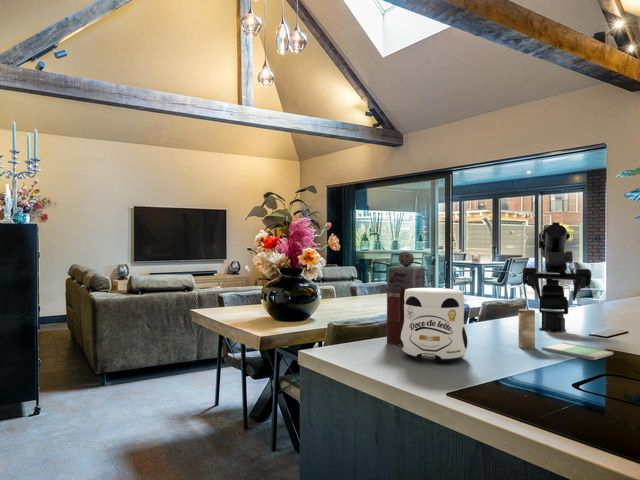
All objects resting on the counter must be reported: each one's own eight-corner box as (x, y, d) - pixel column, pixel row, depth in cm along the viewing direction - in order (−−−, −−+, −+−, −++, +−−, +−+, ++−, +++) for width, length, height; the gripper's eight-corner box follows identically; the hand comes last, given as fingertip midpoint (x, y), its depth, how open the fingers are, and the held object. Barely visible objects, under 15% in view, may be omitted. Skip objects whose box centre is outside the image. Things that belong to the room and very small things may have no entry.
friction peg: (515, 347, 135) (515, 309, 135) (524, 345, 137) (524, 308, 137) (529, 350, 131) (529, 311, 131) (538, 348, 134) (538, 310, 134)
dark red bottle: (383, 344, 137) (383, 251, 138) (398, 338, 147) (398, 251, 147) (410, 348, 132) (411, 252, 133) (425, 341, 142) (425, 251, 142)
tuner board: (542, 349, 132) (542, 347, 132) (563, 344, 138) (563, 342, 138) (593, 360, 120) (593, 357, 120) (613, 354, 126) (613, 351, 126)
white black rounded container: (419, 368, 112) (419, 295, 112) (390, 352, 128) (390, 288, 128) (481, 364, 116) (481, 293, 116) (445, 348, 133) (445, 286, 133)
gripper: (522, 242, 144) (522, 282, 135) (591, 242, 137) (595, 284, 127) (523, 263, 152) (522, 303, 143) (587, 265, 144) (591, 306, 135)
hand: (556, 299), depth 137 cm, fingers open, 9 cm apart
